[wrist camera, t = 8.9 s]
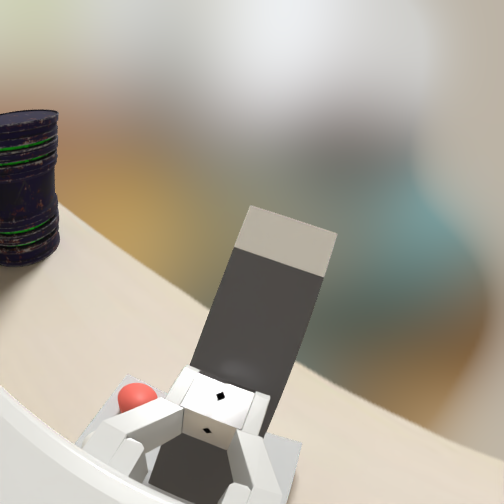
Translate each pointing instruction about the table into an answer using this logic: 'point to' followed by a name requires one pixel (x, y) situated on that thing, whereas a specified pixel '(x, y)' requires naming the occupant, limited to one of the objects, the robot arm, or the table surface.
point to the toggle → (249, 339)
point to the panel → (135, 395)
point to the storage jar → (28, 187)
